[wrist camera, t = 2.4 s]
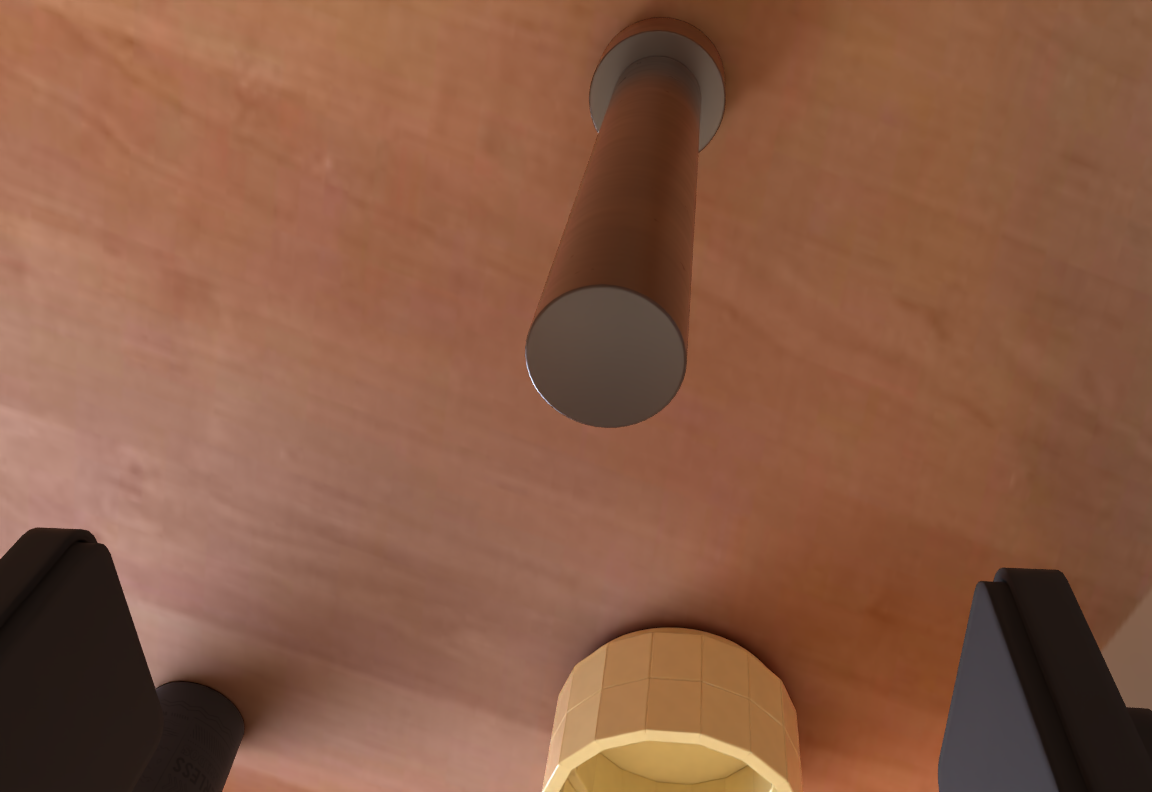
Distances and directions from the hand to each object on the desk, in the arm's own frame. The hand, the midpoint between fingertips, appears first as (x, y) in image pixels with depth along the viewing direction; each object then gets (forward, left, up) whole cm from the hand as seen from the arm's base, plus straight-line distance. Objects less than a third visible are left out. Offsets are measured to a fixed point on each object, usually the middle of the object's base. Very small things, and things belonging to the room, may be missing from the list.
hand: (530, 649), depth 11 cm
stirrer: (0, 0, -24) cm, 24 cm away
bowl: (-1, +27, -24) cm, 36 cm away
